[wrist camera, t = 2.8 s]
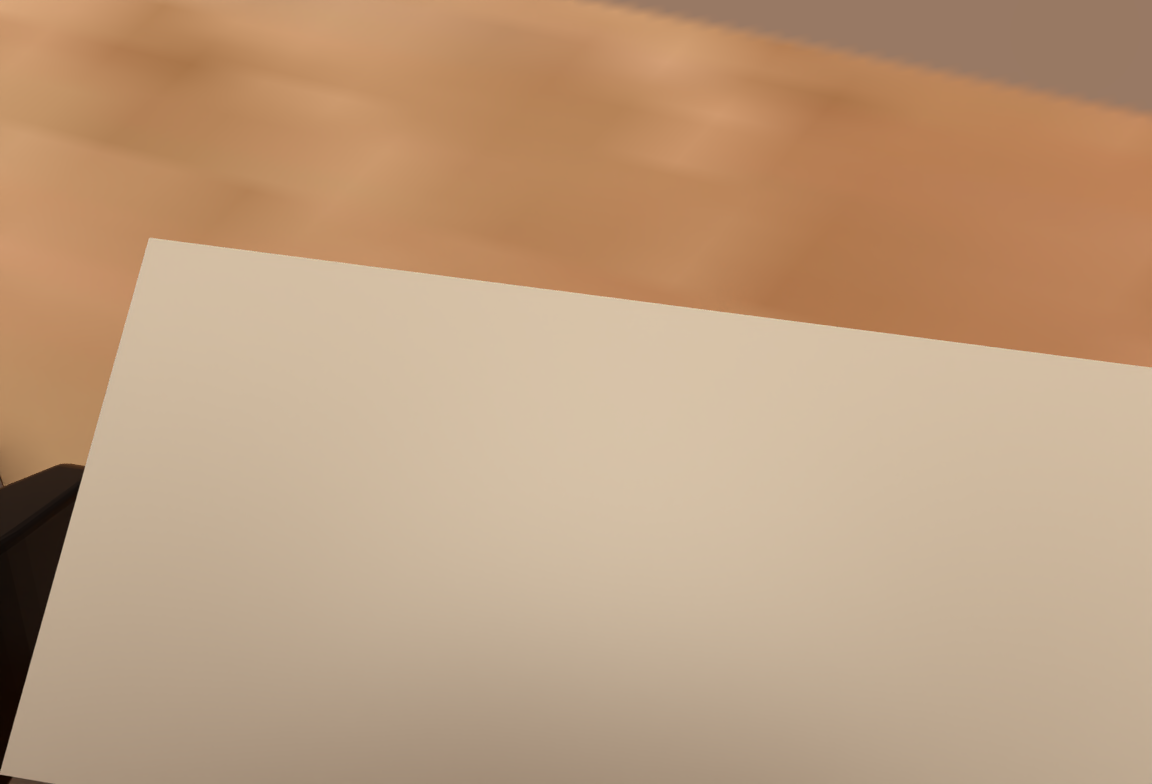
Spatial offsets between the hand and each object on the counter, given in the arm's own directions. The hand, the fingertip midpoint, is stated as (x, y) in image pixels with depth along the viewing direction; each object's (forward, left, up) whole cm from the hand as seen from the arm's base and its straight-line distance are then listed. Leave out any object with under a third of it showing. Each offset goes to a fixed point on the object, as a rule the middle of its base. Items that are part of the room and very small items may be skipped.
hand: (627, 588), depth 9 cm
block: (0, 0, -8) cm, 8 cm away
